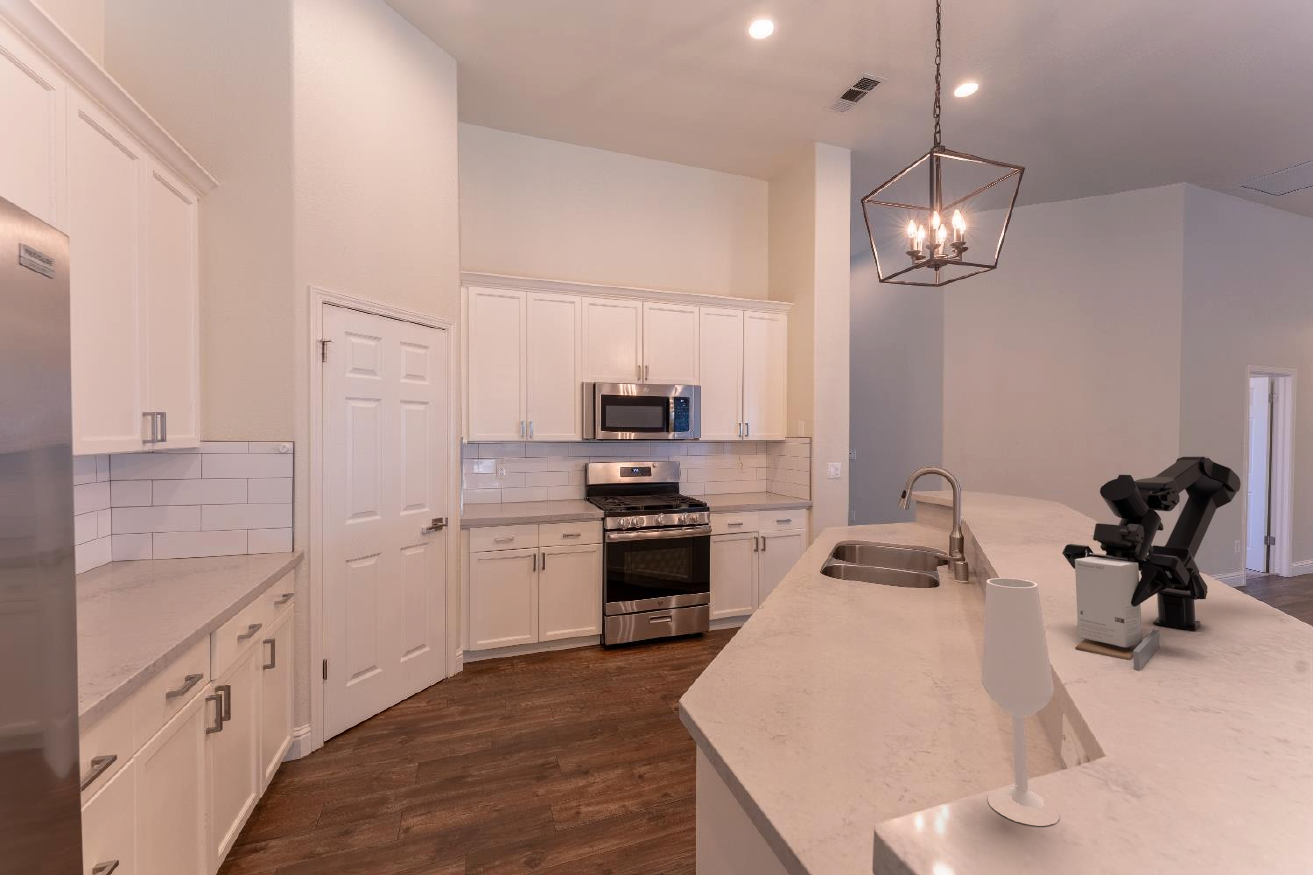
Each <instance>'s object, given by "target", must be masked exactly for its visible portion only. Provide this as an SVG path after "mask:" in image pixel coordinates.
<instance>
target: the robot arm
mask: <svg viewBox="0 0 1313 875" xmlns="http://www.w3.org/2000/svg"><path fill="white" fill-rule="evenodd" d="M1240 489H1241V479H1240V477H1239V475H1238V474H1237V473H1236V472H1235V471H1234V470H1232V468H1230V467H1228V466H1225V465H1222V464H1219V463H1216V462H1214V461H1213V460H1212V459H1211V458H1210V457H1207V456H1199V455H1198V456H1180V457H1177V459H1176V460H1175V462H1174V463H1173V464H1171V465H1170V466H1168V467H1167V468H1166V469H1164V470H1163V471H1161V472H1159V473H1158V474H1157V475H1155V476H1152V477H1147V478H1146V477H1145V478H1139V479H1134V477H1133V476H1132V475H1131V474H1118V475H1117V478H1114V479H1111V480H1108V481H1107V482H1106V483H1104V485H1102V486H1100V489H1099V494H1100V496H1101V498H1102V499H1103V501H1104V502H1105V503H1106V505H1107V507H1109V510H1111V512H1112V514H1113V515H1114V516H1115V517H1117V518H1119V519H1120V521H1119V523H1118V524H1110V523H1101V522H1100V523H1098V522H1097V523H1095V526H1094V530H1093V536H1092V540H1093V541H1095V542H1096V541H1097V542H1098V543H1099V544H1100V546H1099V547H1100V549H1101V551H1103V552H1105V554H1101V553H1095V552H1094V551H1093V550H1092V549H1091V547H1090V546H1089V545H1084V544H1083V545H1082V544H1075V543H1069V544H1068V543H1067V544H1066V545H1065V546H1064V549H1063V550H1062V552H1061V554H1062V555H1063V556H1064V558H1065V559H1066V560H1067V562H1068V563H1069V564H1070V566H1071V567H1072V569H1074V570H1075V559H1080V558H1086V557H1098V558H1107V559H1116V560H1122V561H1129V562H1135V563H1138V567H1139V572H1140V576H1141V577H1140V578H1139V583H1138V586H1137V588H1136V590H1135V592H1134V594H1133V597H1132V601H1131V604H1132V606H1134V607H1136V606H1138V605H1139V604H1140V605H1141V604H1142V603H1144V602H1145V601H1147V600H1148V599H1150V598H1152V597H1153V596H1155V595H1156V596H1157V617H1156V618H1155V619H1154V620H1153V621H1152V622H1153V625H1156V626H1157V625H1158V626H1163V627H1169V628H1177V629H1182V630H1188V631H1197V629H1198V628H1199V627H1200V626H1201V623H1202V622H1201V621H1200V620H1196V607H1195V605H1196V604H1195V601H1198V600H1207V596H1208V585H1207V584H1206V582H1205V580H1204V579H1203V576H1201V574H1200V569H1199V567H1198V565H1197V563H1196V561H1195V557H1196V555H1197V553H1198V551H1199V548H1200V546H1201V544H1202V542H1203V539H1204V537H1205V535H1206V533H1207V531H1208V528H1209V527H1210V524H1211V522H1212V519H1213V517H1214V515H1215V513H1216V511H1217V509H1219V508H1221V507H1223V506H1226V505H1227V504H1230V502H1232V501H1233V499H1234V497H1235V496H1236V495H1237V493H1238V492H1240ZM1183 491H1185V492H1186V494H1187V495H1188V497H1187V499H1186V502H1185V504H1184V506H1183V507H1182V510H1181V512H1180V514H1179V516H1178V518H1177V520H1176V522H1175V525H1174V526H1173V529H1172V530H1171V532H1170V535H1169V537H1168V539H1167V541H1166V543H1165V545H1154V544H1153V541H1154V538H1155V536H1156V533H1157V531H1160V532H1161V531H1162V532H1163V531H1164V524H1163V523H1162V517H1161V516H1160V515H1159V514H1158V511H1159V512H1171V511H1173V510H1174V509H1175V508H1176V507H1177V505H1178V504H1180V502H1181V500H1180V493H1181V492H1183Z"/></svg>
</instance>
